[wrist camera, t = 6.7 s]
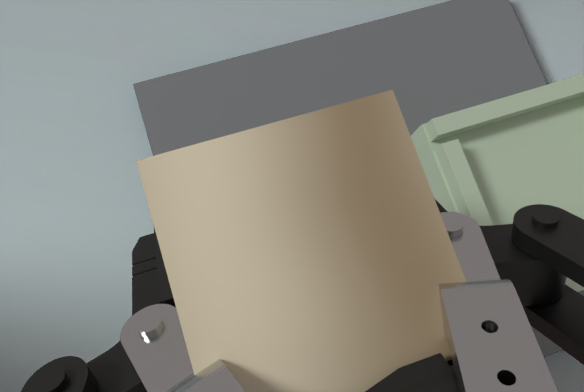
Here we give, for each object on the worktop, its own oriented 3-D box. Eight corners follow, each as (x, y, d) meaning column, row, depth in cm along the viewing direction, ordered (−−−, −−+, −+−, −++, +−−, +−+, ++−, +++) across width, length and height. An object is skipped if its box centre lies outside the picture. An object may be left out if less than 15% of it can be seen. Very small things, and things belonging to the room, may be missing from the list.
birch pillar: (236, 362, 17) (213, 447, 8) (198, 233, 18) (136, 160, 8) (362, 319, 18) (490, 344, 8) (321, 196, 19) (392, 89, 9)
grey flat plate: (242, 463, 21) (242, 471, 20) (138, 92, 24) (133, 84, 23) (635, 315, 23) (652, 315, 22) (494, -2, 26) (503, -14, 25)
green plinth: (454, 314, 22) (509, 320, 17) (394, 153, 23) (428, 117, 18) (606, 260, 23) (697, 251, 18) (539, 109, 24) (607, 64, 19)
